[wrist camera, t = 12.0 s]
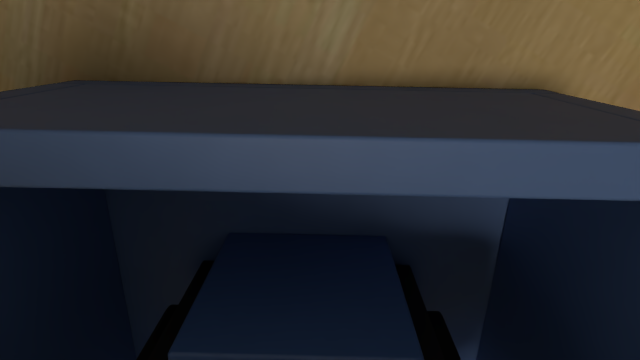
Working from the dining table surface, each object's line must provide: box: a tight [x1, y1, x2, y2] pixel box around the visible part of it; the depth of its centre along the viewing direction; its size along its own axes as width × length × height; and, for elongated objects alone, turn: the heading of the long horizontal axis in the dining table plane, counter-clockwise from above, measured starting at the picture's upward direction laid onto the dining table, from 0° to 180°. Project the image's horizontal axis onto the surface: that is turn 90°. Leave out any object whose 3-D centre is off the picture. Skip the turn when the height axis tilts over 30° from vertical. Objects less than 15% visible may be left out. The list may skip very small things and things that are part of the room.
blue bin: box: [0, 80, 640, 360], centre depth 10 cm, size 13×13×6 cm
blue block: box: [168, 233, 424, 360], centre depth 9 cm, size 4×4×4 cm
